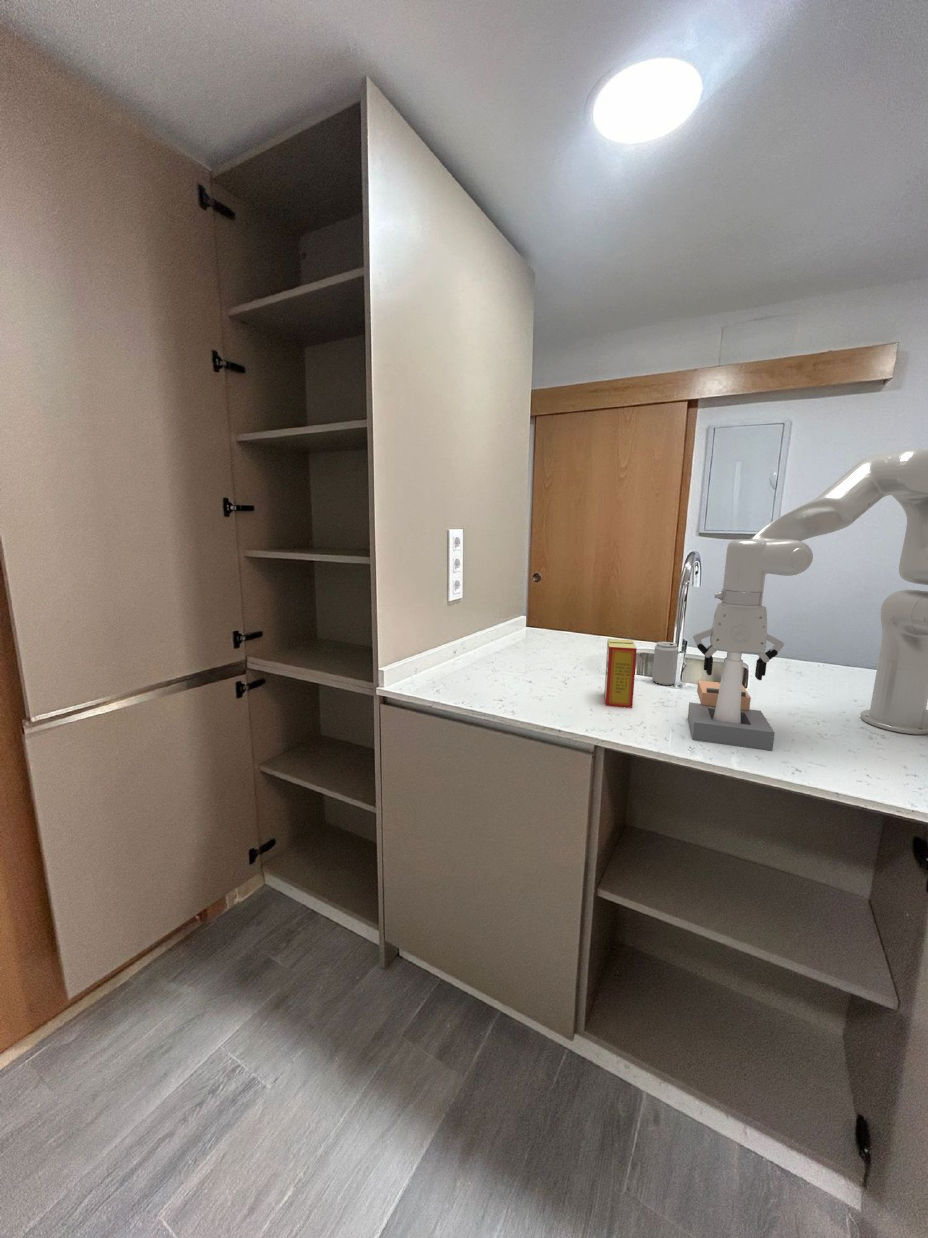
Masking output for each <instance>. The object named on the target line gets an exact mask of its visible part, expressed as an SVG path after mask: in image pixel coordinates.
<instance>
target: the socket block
mask: <svg viewBox="0 0 928 1238" xmlns="http://www.w3.org/2000/svg"><path fill="white" fill-rule="evenodd" d="M715 709H716V706H707V705H701V703H698V702H690V701H689V703H688V711H687V712H688V713H687V721H688V725H689V730H690V734H691V738H692V740H693V741H700V742H707V743H713V744H714V743H715V744H721V745H722V744H723V745H729V746H736V747H743V748H749V749H750V748H751V749H756V750H765V751H771V752H773V747H774V740H775V734H776V733H775V731H774V729H773V727H772V726H771V724H770V723H769V721H768V720H767V718H766V717H765V715H764V713H763V712H762V710H758V709H749V710H742V709H741V710H740V717H741V724H739V723H731V722H723V721H715V720H713V717H714V713H715Z"/></svg>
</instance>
